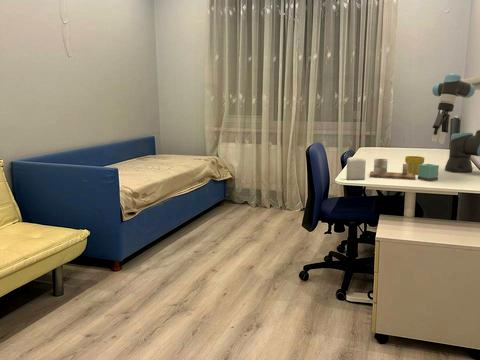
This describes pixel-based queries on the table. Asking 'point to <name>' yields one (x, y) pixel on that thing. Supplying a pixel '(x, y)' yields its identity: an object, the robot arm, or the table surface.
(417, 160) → the plant pot
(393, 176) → the peg board
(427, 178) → the teal sleeve
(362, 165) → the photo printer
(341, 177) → the table surface
